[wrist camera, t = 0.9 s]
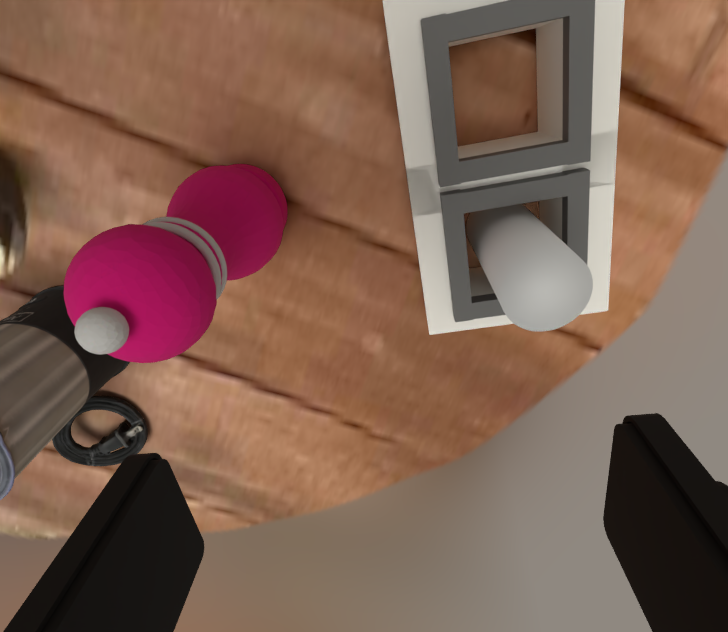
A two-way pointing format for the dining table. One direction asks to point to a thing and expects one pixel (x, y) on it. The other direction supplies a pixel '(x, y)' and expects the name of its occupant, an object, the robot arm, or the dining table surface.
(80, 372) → the milk frother
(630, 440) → the robot arm
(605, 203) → the socket block
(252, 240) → the pepper mill
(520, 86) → the dining table surface
